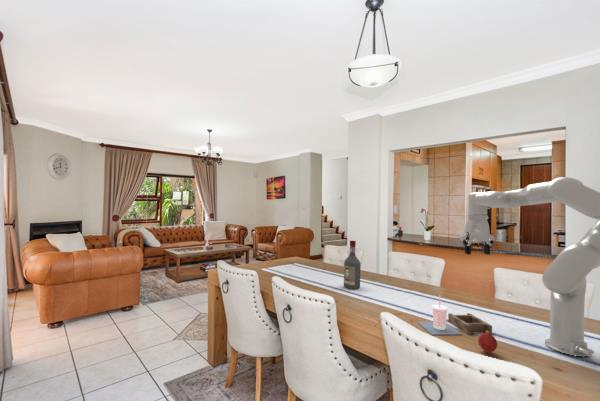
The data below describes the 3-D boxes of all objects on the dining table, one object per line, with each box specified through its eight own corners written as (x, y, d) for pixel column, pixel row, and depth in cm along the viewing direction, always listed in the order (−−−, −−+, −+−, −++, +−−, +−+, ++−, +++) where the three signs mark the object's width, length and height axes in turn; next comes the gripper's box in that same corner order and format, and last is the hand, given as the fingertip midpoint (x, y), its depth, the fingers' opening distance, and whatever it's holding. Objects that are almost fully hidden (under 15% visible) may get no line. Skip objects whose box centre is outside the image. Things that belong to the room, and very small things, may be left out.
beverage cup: (428, 325, 128) (428, 293, 128) (439, 323, 130) (439, 292, 130) (439, 331, 122) (440, 297, 122) (450, 329, 124) (451, 296, 124)
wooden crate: (492, 334, 121) (492, 325, 121) (467, 334, 121) (467, 325, 121) (470, 321, 135) (470, 313, 135) (448, 321, 135) (448, 313, 135)
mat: (462, 335, 120) (462, 334, 120) (432, 335, 119) (432, 334, 119) (444, 322, 133) (444, 321, 133) (417, 322, 132) (417, 321, 132)
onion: (479, 347, 110) (479, 326, 110) (497, 352, 106) (498, 330, 106) (476, 353, 105) (477, 330, 105) (495, 358, 101) (496, 335, 102)
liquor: (350, 284, 194) (351, 239, 194) (361, 287, 187) (362, 241, 187) (341, 286, 188) (342, 240, 188) (352, 290, 181) (353, 242, 181)
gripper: (488, 218, 143) (488, 253, 142) (455, 217, 141) (455, 253, 140) (500, 218, 135) (500, 255, 135) (465, 218, 133) (465, 255, 133)
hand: (477, 254), depth 138 cm, fingers open, 9 cm apart
